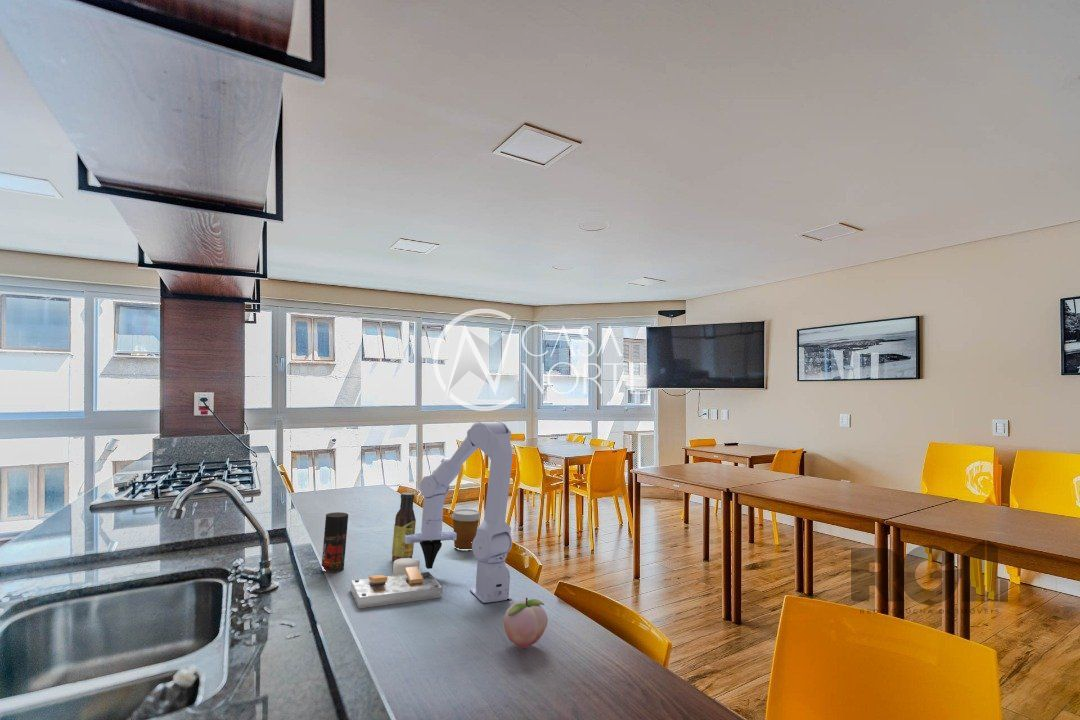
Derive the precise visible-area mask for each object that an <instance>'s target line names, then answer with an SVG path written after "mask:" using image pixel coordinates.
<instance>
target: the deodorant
mask: <svg viewBox="0 0 1080 720" xmlns="http://www.w3.org/2000/svg"><path fill="white" fill-rule="evenodd" d="M324 521H325V522H324V524H325V525H324V533H323V535H324V536H323V545H322V546H323V547H322V555H321V556H322V557H321V566H323V567H324V569H325V570H326V572H325V573H330V574H331V573H339V572H342V571H344V569H345V557H346V547H347V536H348V523H349V513H347V512H336V511H335V512H329V513H326V514H325V520H324Z"/></svg>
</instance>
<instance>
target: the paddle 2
mask: <svg viewBox="0 0 1080 720" xmlns="http://www.w3.org/2000/svg"><path fill="white" fill-rule="evenodd" d="M405 573H406V575H407V578H408V580H409V582H410V584H412V583H420V582H423V577H422V575H421V573H422V572H421V571H420V568H419V569H418V567H417V566H416V567H406V568H405Z"/></svg>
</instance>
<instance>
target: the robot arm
mask: <svg viewBox="0 0 1080 720" xmlns="http://www.w3.org/2000/svg"><path fill="white" fill-rule="evenodd" d="M511 437H512V431H511V430H510V428H509V427H508V426H507V424H506V423H505V422H502V421H496V422H493V421H491V422H482V421H476V422H474V423H473V424H472V425H471V426H470V428H469V429H468V430H467V432H466V437H465V438H464V439H463V441H462V442H461V444H459V446H458V447H457V449H456V450H455V452H454V454H452V456H451V457H448V456H447V457H445V458H442V459H441V461H440V464H438V467H436V469H434V470H433V471H432V473H431V474H430V475H426V476H424V477H422V479H421V481H420V484H419V491H420V493H421V495H422V496H423V500H422V501H423V503H422V517H421V518H422V519H421V528H420V529H421V531H420V532H418V533H415V534H412V535H405V543H406V544H410V543H414V544H416V543H418V544H419V546H420V548H421V551H422V553H423V557H424V563H425V568H426V569H427V570H430V569H433V567H434V562H435V561H436V557H437V555H438V553H439V551H440V550H441V549H442V545H443V543H442V542H443V541H454V540H456V537H457V533H455V532H454V531H443V519H444V517H443V516H444V507H445V506H444V503H445V501H446V499H447V498H446V497H447V494H448V492H449V491H450V484H451V483H452V482H453V481H454V480H455V479H456V478H457V476H458V475H460V473H461V472H462V465H463V464H464V463H465V462H466V461H467V460H468V458H470V457H471V456H472V455H473V454H474V453H475V452H476V451H477V450H478V449H479V450H480V451H482V452H483V453H485V455H486V456H487V457H489V459H490V466H489V474H488V482H487V483H488V484H487V492H486V499H485V509H484V517H483V520H482V522H481V523H480V525H479V526H478V527H477V532H476V536H475V538H474V540H473V543H472V550H471V551H472V553H473V555H474V557H475V561H476V575H475V576H476V578H475V587H470V588H469V591H470V592H471V593H472V594H473V595H474V596H475V597H476V598H477V599H478V600H479V601H480V602H481V604H487V603H495V602H502V601H508V600H507V599H509V600H512V599H511V598H513V597H512V595H510V584H511V583H510V580H511V574H510V570H509V568H508V567H507V566H506V558H507V557H508V553H510V551H511V549H512V546H513V539H512V535H511V531H512V530H511V529H512V527H511V526H510V525H509V524H508V523H507V522H506V518H507V508H508V501H509V491H510V489H509V488H510V483H511V475H512V474H511V473H512V464H513V457H514V456H513V449H512V443H511Z"/></svg>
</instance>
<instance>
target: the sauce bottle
mask: <svg viewBox="0 0 1080 720" xmlns="http://www.w3.org/2000/svg"><path fill="white" fill-rule="evenodd" d="M414 499H415V493H414V492H401V493H400V504H399V505H400V506H399V507H400V508H399V509H398V511H397V513H396V515H395V519H394V525H393V537H392V547H391V555H392V556H391V560H392V562H394V561H395V560H397V559H401V558H413V555H414V547H415V543H410V544H406V543H405V535H412V534H416V526H417V525H416V523H417V519H416V516H415V511H414Z"/></svg>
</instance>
